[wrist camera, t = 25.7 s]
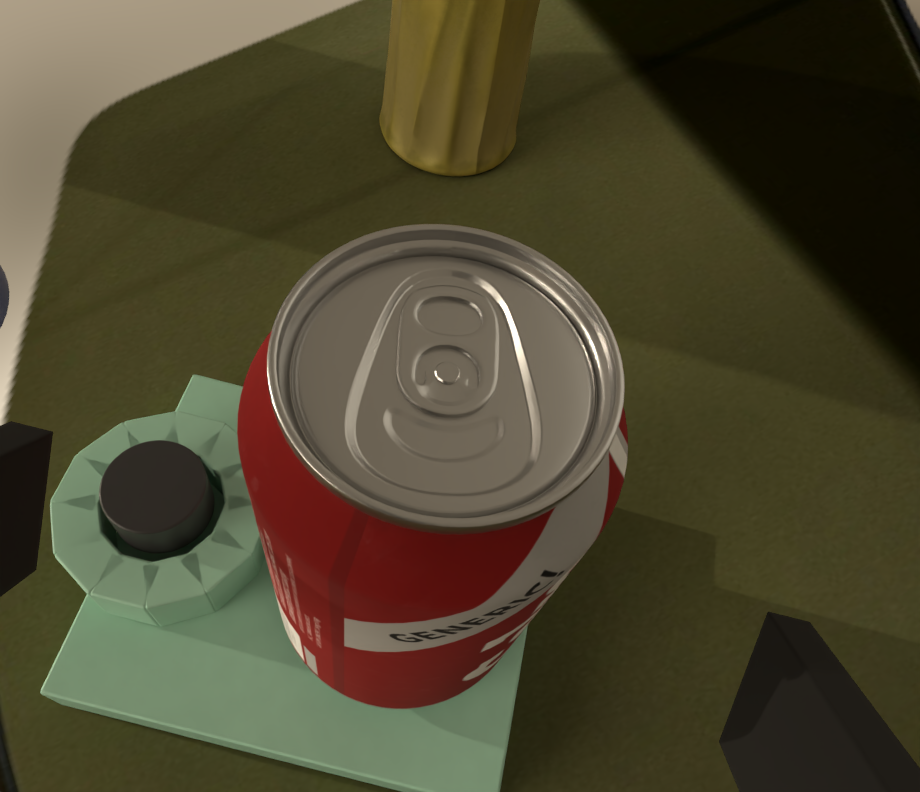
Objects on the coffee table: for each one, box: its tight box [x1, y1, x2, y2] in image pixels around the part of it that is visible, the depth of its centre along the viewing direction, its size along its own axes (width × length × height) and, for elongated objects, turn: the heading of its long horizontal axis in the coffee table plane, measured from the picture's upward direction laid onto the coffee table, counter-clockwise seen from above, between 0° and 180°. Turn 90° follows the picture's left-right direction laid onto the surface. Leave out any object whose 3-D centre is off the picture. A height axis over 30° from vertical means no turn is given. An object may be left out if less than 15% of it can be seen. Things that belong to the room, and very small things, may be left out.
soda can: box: [237, 224, 628, 709], centre depth 17 cm, size 7×7×12 cm
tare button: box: [99, 440, 215, 553], centre depth 20 cm, size 3×3×2 cm
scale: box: [41, 375, 528, 792], centre depth 22 cm, size 13×10×4 cm
